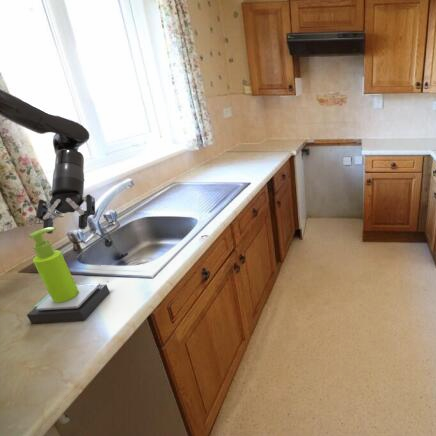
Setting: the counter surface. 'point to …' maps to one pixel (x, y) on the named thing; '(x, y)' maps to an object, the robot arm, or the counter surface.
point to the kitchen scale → (69, 305)
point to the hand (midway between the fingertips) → (65, 230)
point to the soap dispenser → (53, 269)
